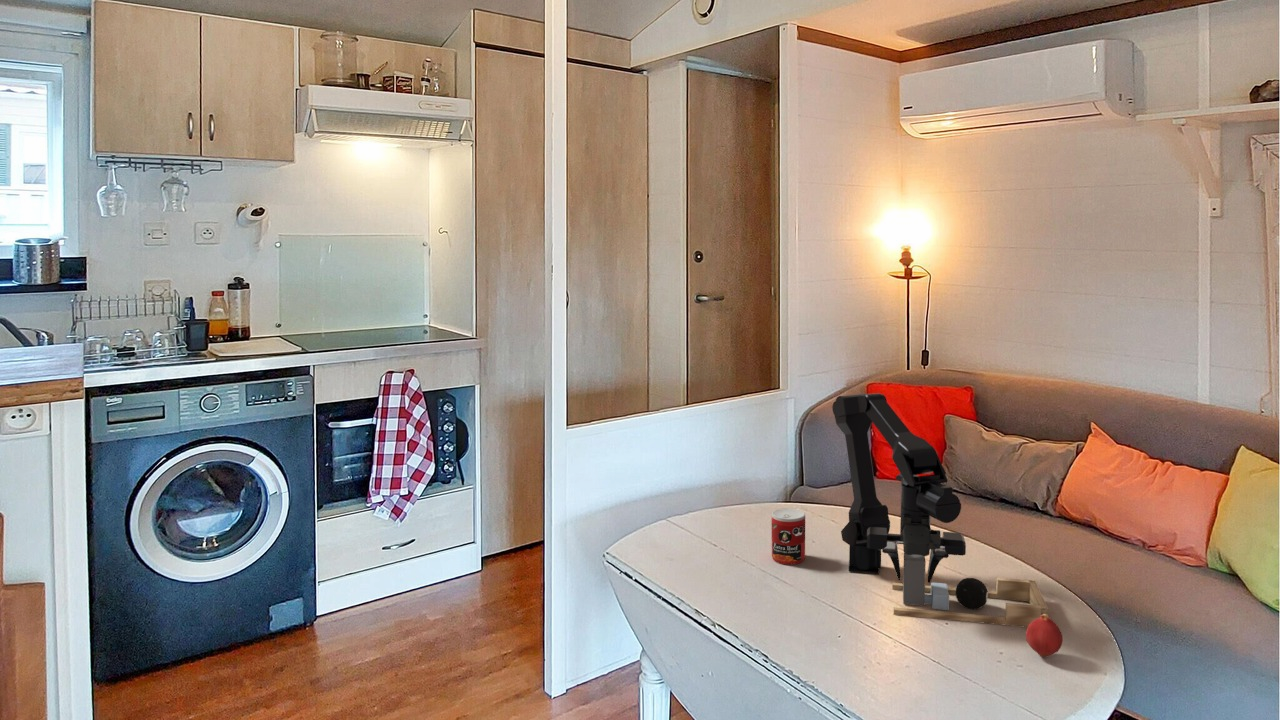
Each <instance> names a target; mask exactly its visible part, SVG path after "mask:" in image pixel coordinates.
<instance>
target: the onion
mask: <svg viewBox="0 0 1280 720" xmlns="http://www.w3.org/2000/svg"><path fill="white" fill-rule="evenodd" d="M1026 628H1027V629H1026V632H1025V639H1026V641H1027V643H1028V645H1029V647H1030V648H1031V649H1032V650H1033V651H1034V652H1036V653H1037V654H1038V656H1039V657H1041V658H1048V657H1050V656H1052V655H1054V654H1056V653H1057V652H1059V650H1061V647H1062V645H1063V639H1064V638H1063V633H1062V631H1061V628H1060V627H1059V625H1057V624H1056V622H1055V621H1054V620H1052V619H1051V618H1050V617H1049V614H1048V615H1046V614H1042V615H1041V617H1040V618H1037V619H1035V620H1034V621H1032V622H1031V623H1030V624H1029V626H1028V627H1026Z"/></svg>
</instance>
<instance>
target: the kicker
mask: <svg viewBox="0 0 1280 720" xmlns="http://www.w3.org/2000/svg"><path fill="white" fill-rule="evenodd" d="M902 568H903V573H902V574H903V576H902V579H903V580H902V582H903V583H902V584H903V590H902V602H903V605H911V606H921V607H923V606H924V607H925V605H931V608H932V609H933V610H942V611H949V609H950V608H949V605H950V594H949V593H948V588H947V587H948V584H947V583H942V582H930V586H931V593H930V594H929V593H928V594H927V593H926V592H925V585H926V556H922V555H913V554H912V555H907V554H905V553H904V552H903V567H902Z"/></svg>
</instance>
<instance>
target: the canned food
mask: <svg viewBox="0 0 1280 720" xmlns="http://www.w3.org/2000/svg"><path fill="white" fill-rule="evenodd" d="M771 557H772V561H774V562H776V563H778V564H781V565H787V564H788V565H789V566H790V565H791V564H793V565H797V564H801V563H802V562H804V560H805V558H806V513H805V512H804V511H803V510H801V509H797V508H789V507H788V508H784V507H783V508H778V509H775V510H773V511H772V513H771ZM791 566H792V565H791Z"/></svg>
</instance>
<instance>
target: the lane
mask: <svg viewBox="0 0 1280 720" xmlns="http://www.w3.org/2000/svg"><path fill="white" fill-rule="evenodd" d="M891 584H892V585H891V587H892V589H891V590H895V591H903V583H902V582H901V583H899V582H892V583H891ZM947 588H948V593H949V595H953V596H956V587H949V586H947ZM925 593H928V594H929V593H930V594H931V585H926V584H925ZM996 598H997V592H996V591H995V590H994V591H993V590H988V599H996ZM893 615H895V616H896V615H897V616H905V617H914V618H915V617H916V618H926V619H927V618H928V619H937V620H946V619H947V620H948V621H956V620H961V621H960V622H967V621H971V623H977V622H984V623H983V624H988V623H994V624H993V625H998V624H1005V625H1004V626H1007V625H1006V618H1005V616H993V615H982V614H974V613H973V614H972V613H971V614H970V613H961V612H951V611H950V612H949V611H939V610H938V611H937V610H928V609H918V608H906V607H896V606H894V607H893Z"/></svg>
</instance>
